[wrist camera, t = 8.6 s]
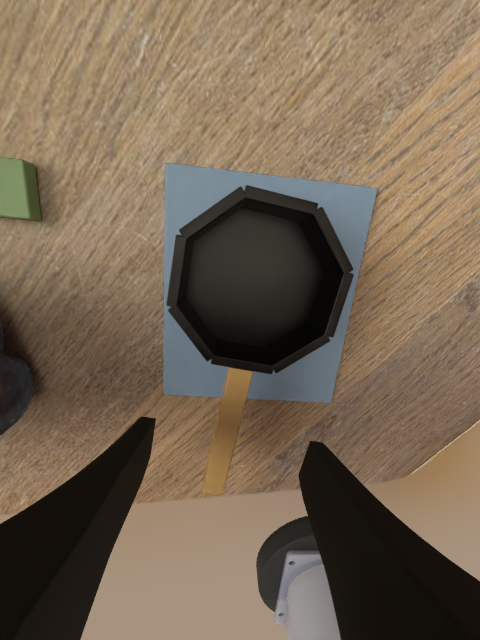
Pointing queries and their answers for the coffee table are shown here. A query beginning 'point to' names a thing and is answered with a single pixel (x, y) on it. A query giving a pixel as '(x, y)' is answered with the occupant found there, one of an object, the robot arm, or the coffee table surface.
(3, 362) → the figurine
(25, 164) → the green rectangular block
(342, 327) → the napkin
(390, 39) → the coffee table surface
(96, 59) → the coffee table surface
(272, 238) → the pan
